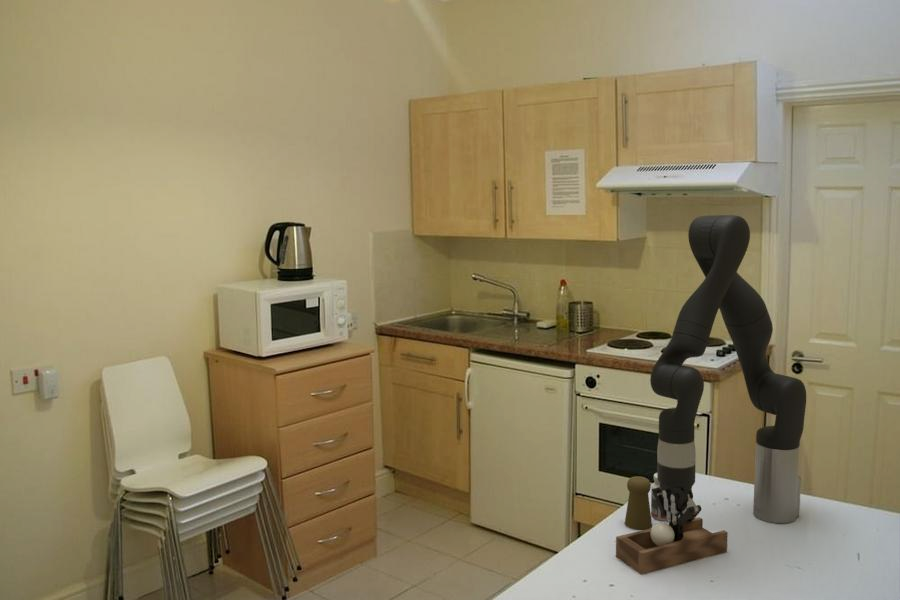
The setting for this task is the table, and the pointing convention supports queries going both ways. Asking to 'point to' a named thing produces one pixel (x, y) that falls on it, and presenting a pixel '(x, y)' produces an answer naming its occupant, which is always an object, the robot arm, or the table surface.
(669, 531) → the ball
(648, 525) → the pepper mill
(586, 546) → the table surface
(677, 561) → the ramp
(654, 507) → the pill bottle
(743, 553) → the table surface
